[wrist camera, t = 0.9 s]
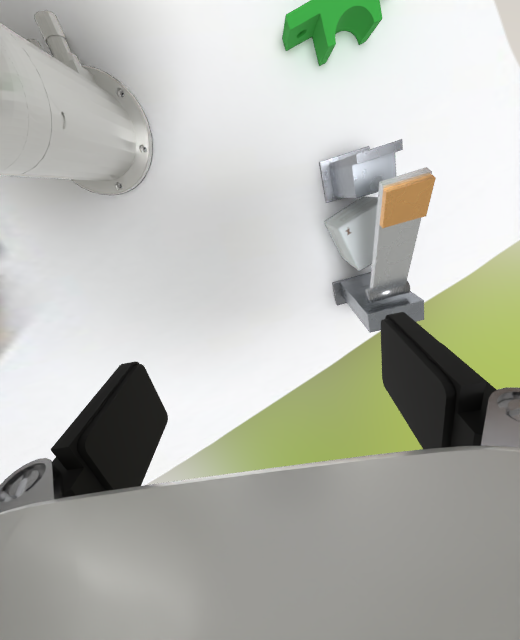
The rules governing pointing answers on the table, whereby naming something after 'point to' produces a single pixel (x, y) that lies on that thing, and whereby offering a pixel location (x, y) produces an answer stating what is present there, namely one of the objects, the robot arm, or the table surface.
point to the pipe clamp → (330, 23)
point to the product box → (355, 231)
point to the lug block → (358, 171)
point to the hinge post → (375, 311)
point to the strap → (397, 231)
